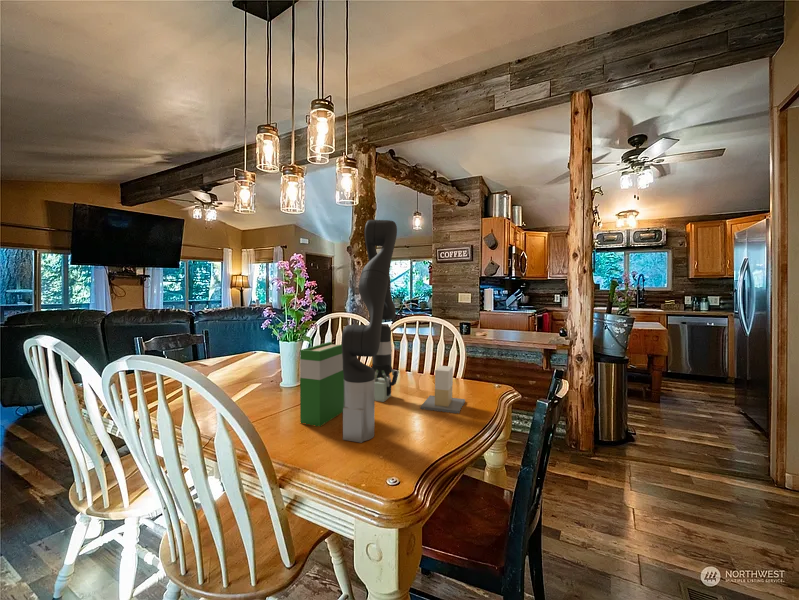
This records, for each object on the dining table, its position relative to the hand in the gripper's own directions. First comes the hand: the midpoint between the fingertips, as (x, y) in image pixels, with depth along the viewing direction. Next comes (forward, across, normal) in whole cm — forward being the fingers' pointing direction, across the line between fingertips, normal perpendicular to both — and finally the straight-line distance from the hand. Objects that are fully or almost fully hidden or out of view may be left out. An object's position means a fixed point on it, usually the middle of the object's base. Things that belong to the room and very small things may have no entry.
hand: (381, 394), depth 147 cm
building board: (+1, +25, 0) cm, 25 cm away
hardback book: (+2, -11, -25) cm, 27 cm away
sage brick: (+1, 0, 0) cm, 1 cm away
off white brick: (-6, +25, 0) cm, 26 cm away
